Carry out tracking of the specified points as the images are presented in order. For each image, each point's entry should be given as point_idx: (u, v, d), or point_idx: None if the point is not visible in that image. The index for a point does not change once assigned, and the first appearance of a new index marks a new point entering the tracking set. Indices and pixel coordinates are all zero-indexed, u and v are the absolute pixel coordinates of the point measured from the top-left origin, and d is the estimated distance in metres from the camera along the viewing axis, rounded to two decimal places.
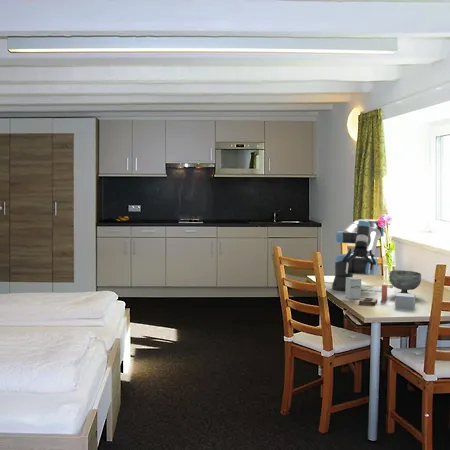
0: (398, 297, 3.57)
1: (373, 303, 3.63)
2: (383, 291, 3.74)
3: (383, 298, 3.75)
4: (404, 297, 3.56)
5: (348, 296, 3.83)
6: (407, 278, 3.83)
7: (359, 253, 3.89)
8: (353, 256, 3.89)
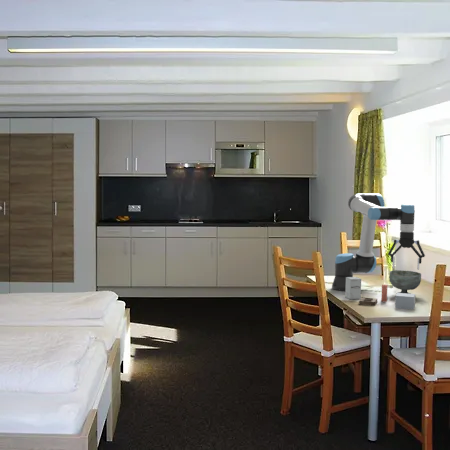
0: (398, 297, 3.57)
1: (373, 303, 3.63)
2: (383, 291, 3.74)
3: (383, 298, 3.75)
4: (404, 297, 3.56)
5: (348, 296, 3.83)
6: (407, 278, 3.83)
7: (405, 245, 3.58)
8: None
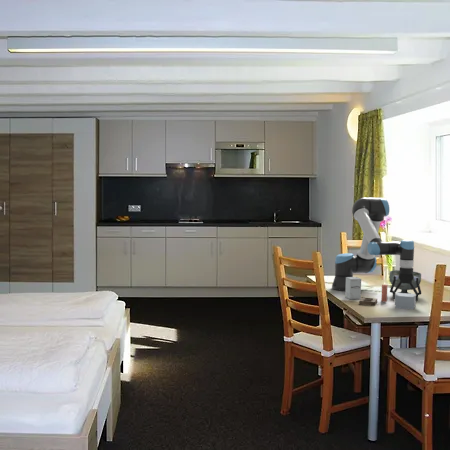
0: (398, 297, 3.57)
1: (373, 303, 3.63)
2: (383, 291, 3.74)
3: (383, 298, 3.75)
4: (404, 297, 3.56)
5: (348, 296, 3.83)
6: None
7: (405, 281, 3.59)
8: None
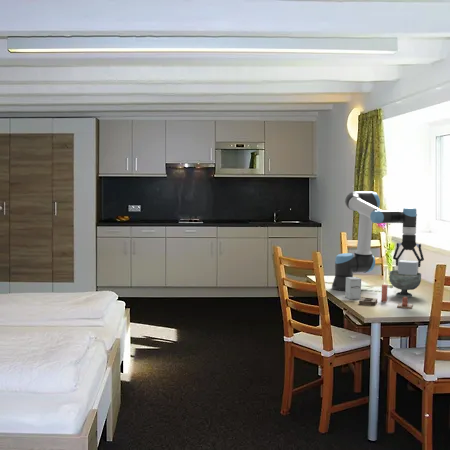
0: (401, 263, 3.66)
1: (373, 303, 3.63)
2: (383, 291, 3.74)
3: (383, 298, 3.75)
4: (407, 263, 3.65)
5: (348, 296, 3.83)
6: (407, 278, 3.83)
7: (408, 247, 3.68)
8: None
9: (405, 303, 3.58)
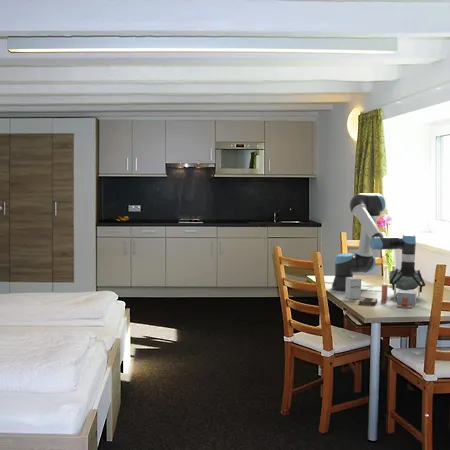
0: (400, 294, 3.67)
1: (373, 303, 3.63)
2: (383, 291, 3.74)
3: (383, 298, 3.75)
4: (406, 294, 3.66)
5: (348, 296, 3.83)
6: (407, 278, 3.83)
7: (406, 274, 3.69)
8: None
9: (405, 303, 3.58)
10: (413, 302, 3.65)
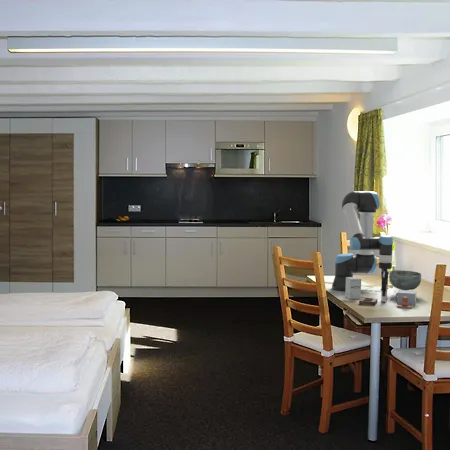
0: (400, 294, 3.67)
1: (373, 303, 3.63)
2: None
3: None
4: (406, 294, 3.66)
5: (348, 296, 3.83)
6: (407, 278, 3.83)
7: None
8: None
9: (405, 303, 3.58)
10: (413, 302, 3.65)
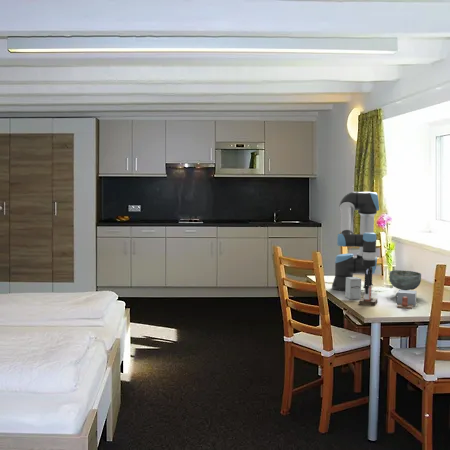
0: (400, 294, 3.67)
1: (373, 303, 3.63)
2: None
3: None
4: (406, 294, 3.66)
5: (348, 296, 3.83)
6: (407, 278, 3.83)
7: None
8: None
9: (405, 303, 3.58)
10: (413, 302, 3.65)
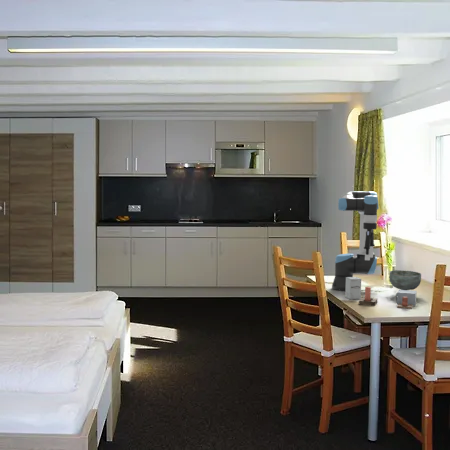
0: (400, 294, 3.67)
1: (373, 303, 3.63)
2: (366, 293, 3.66)
3: None
4: (406, 294, 3.66)
5: (348, 296, 3.83)
6: (407, 278, 3.83)
7: None
8: None
9: (405, 303, 3.58)
10: (413, 302, 3.65)
